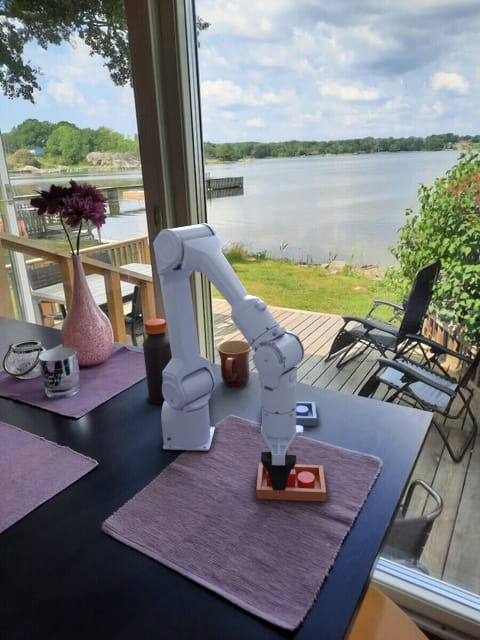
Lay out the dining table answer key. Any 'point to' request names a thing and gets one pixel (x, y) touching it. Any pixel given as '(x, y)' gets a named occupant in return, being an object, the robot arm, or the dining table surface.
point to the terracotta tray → (292, 492)
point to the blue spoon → (301, 411)
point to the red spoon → (299, 480)
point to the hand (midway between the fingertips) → (279, 473)
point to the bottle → (156, 357)
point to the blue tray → (312, 417)
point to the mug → (234, 363)
